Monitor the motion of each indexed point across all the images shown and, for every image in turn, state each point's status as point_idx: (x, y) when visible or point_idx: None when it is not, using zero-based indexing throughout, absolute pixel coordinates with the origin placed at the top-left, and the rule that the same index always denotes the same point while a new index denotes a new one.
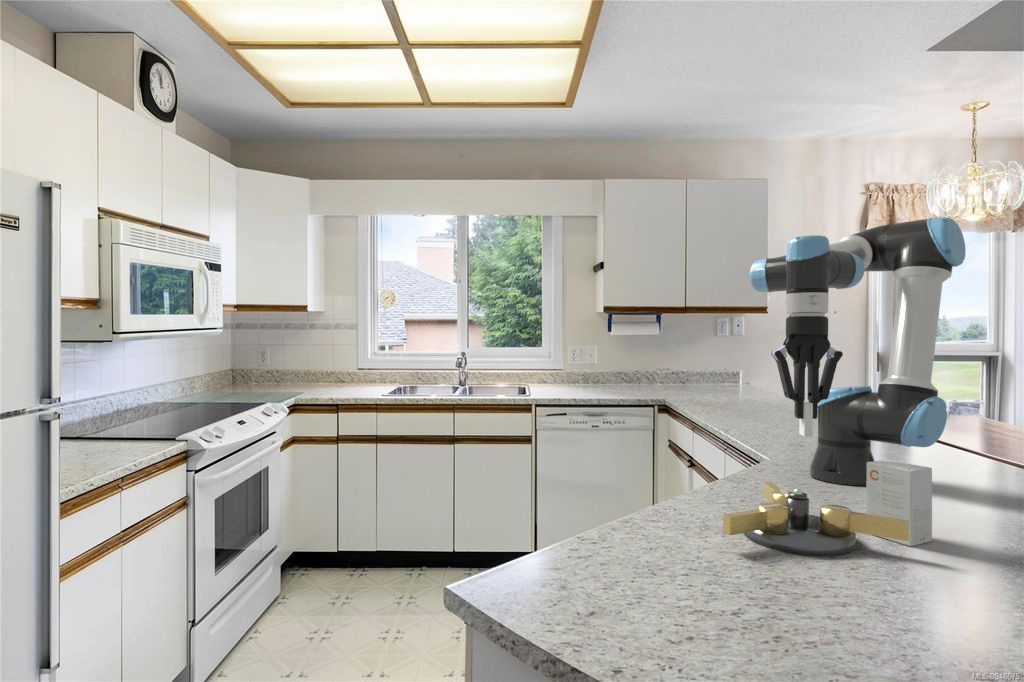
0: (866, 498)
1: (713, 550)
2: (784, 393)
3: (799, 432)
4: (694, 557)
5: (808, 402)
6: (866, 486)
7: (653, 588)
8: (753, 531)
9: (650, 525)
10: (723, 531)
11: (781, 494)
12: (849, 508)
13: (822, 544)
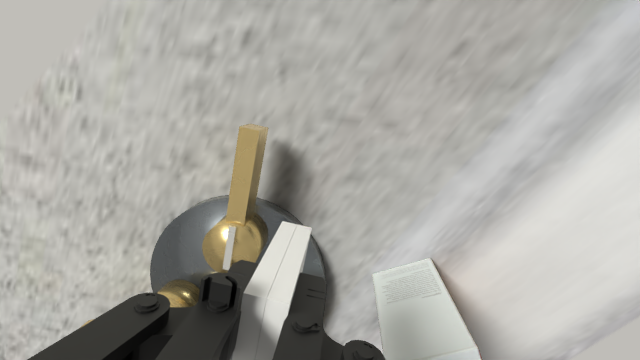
0: (377, 310)
1: (93, 304)
2: (116, 313)
3: (281, 225)
4: (61, 322)
5: (270, 341)
6: (380, 325)
7: None
8: (154, 291)
9: (19, 185)
10: (87, 322)
11: (218, 253)
12: None
13: (230, 358)
